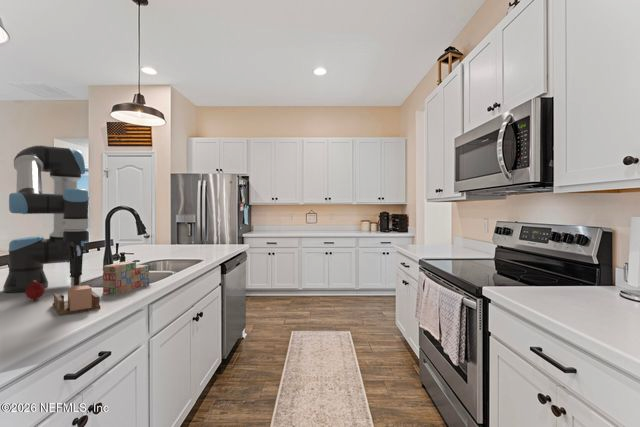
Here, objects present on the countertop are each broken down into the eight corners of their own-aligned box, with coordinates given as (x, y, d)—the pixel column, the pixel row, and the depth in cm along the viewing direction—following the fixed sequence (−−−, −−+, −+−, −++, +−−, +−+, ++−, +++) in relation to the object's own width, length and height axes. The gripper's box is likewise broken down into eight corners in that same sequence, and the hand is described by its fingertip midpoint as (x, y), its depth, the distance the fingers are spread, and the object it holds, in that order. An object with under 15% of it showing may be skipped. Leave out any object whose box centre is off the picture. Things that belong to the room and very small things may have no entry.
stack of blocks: (137, 283, 163) (138, 258, 163) (149, 284, 162) (149, 258, 162) (102, 294, 142) (102, 265, 142) (115, 295, 141) (115, 266, 141)
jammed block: (67, 307, 118) (67, 287, 118) (88, 304, 122) (88, 285, 122) (70, 311, 114) (70, 290, 114) (91, 307, 118) (91, 288, 118)
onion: (47, 299, 133) (47, 279, 133) (30, 303, 128) (30, 282, 127) (39, 297, 135) (39, 278, 135) (22, 301, 130) (22, 280, 130)
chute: (52, 305, 124) (52, 293, 124) (90, 299, 133) (91, 288, 133) (58, 315, 113) (58, 302, 113) (100, 308, 121) (100, 296, 121)
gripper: (60, 229, 125) (60, 291, 126) (66, 231, 116) (66, 299, 116) (84, 228, 130) (84, 288, 131) (91, 231, 121) (91, 295, 122)
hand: (75, 293), depth 124 cm, fingers closed
